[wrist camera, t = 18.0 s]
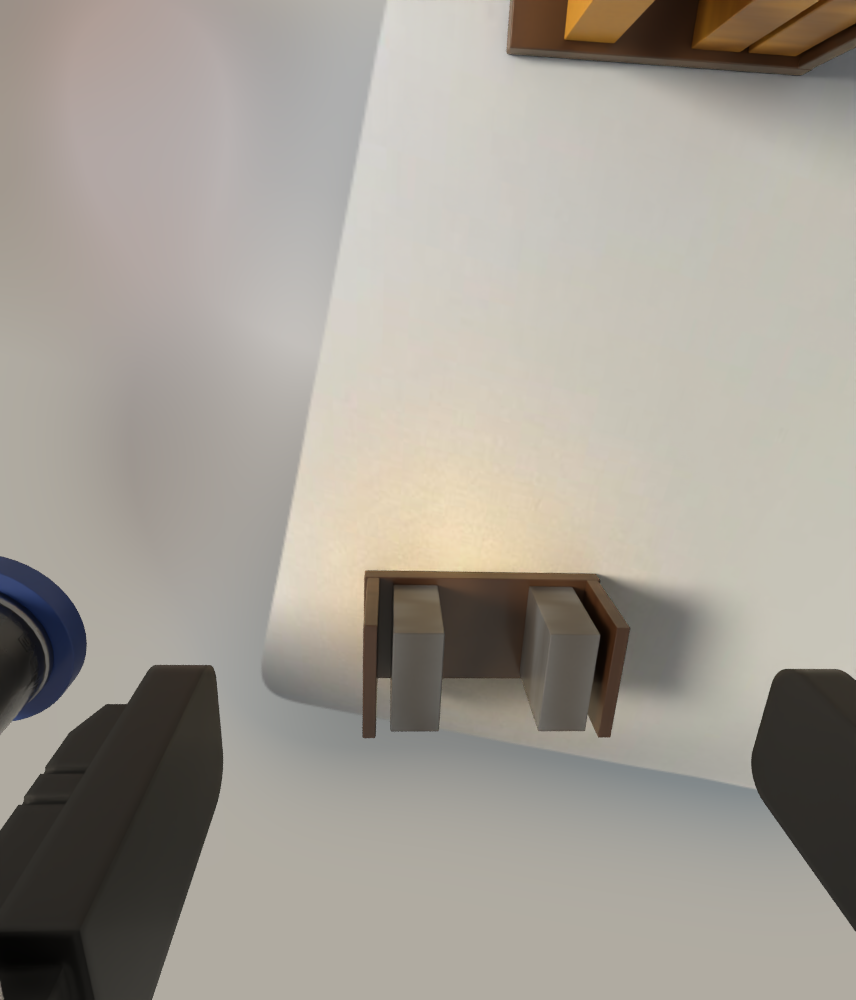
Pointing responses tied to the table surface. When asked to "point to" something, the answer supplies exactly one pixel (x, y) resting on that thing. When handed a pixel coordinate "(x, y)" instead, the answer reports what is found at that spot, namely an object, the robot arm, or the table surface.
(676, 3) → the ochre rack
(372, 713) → the brown book rack
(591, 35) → the ochre book
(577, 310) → the table surface
